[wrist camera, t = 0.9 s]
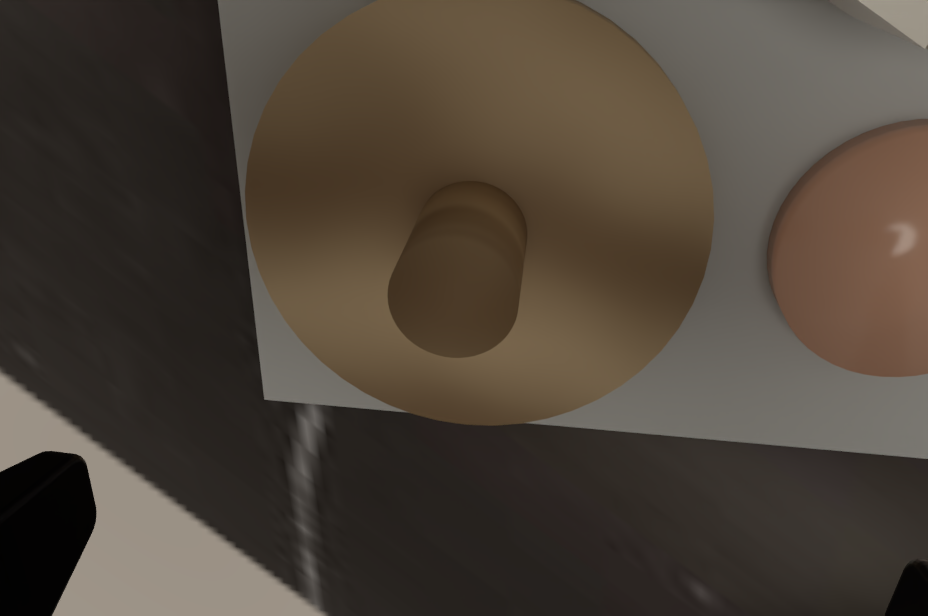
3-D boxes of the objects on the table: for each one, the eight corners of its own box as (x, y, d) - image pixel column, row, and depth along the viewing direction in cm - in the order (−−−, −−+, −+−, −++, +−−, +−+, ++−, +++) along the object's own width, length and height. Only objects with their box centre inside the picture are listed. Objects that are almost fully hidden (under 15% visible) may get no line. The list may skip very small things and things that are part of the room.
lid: (671, 420, 22) (694, 539, 18) (279, 387, 23) (217, 491, 19) (747, -14, 16) (803, 15, 12) (236, -31, 17) (137, -9, 13)
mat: (988, 455, 21) (995, 465, 21) (268, 392, 23) (264, 399, 23) (1188, -27, 16) (1203, -26, 15) (217, -58, 18) (211, -57, 17)
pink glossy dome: (992, 365, 20) (1012, 387, 19) (744, 345, 20) (752, 366, 19) (1087, 125, 17) (1115, 138, 16) (796, 111, 17) (809, 123, 17)
